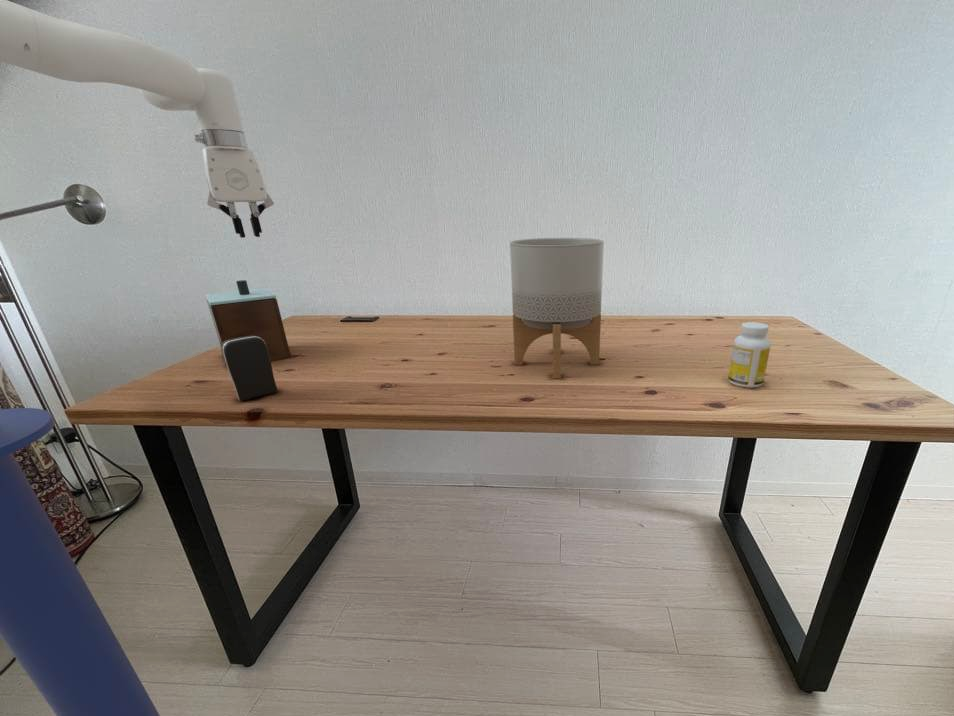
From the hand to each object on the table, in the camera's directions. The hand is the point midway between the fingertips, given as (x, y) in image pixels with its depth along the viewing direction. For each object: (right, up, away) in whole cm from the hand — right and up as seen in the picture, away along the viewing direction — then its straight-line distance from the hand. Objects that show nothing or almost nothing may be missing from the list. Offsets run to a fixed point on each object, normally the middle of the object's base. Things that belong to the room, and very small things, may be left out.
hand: (249, 236), depth 102 cm
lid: (-4, -13, +3) cm, 14 cm away
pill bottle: (+106, -34, -12) cm, 111 cm away
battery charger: (+10, -36, -14) cm, 40 cm away
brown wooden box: (-4, -26, +8) cm, 28 cm away
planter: (+69, -29, 0) cm, 75 cm away
